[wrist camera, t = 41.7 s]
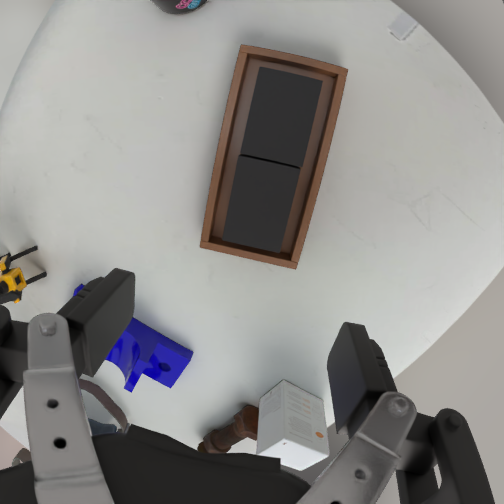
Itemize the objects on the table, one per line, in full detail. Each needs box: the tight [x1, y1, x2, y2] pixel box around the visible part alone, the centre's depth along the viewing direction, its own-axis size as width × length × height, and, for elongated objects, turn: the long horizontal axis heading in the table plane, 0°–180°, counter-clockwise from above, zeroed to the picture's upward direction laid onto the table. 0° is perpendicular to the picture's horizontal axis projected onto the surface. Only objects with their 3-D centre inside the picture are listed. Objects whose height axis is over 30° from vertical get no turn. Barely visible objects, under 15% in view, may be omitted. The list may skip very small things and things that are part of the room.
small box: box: [256, 380, 330, 471], centre depth 37 cm, size 8×6×10 cm
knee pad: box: [12, 378, 130, 466], centre depth 37 cm, size 18×20×25 cm
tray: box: [200, 45, 348, 269], centre depth 29 cm, size 21×10×2 cm, turn 168°
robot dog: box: [0, 246, 47, 304], centre depth 31 cm, size 6×18×13 cm, turn 100°
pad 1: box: [240, 66, 323, 167], centre depth 26 cm, size 8×6×4 cm
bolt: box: [197, 405, 259, 453], centre depth 44 cm, size 6×5×15 cm
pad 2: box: [222, 154, 301, 253], centre depth 29 cm, size 8×6×4 cm
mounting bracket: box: [73, 284, 193, 393], centre depth 37 cm, size 18×7×6 cm, turn 59°
